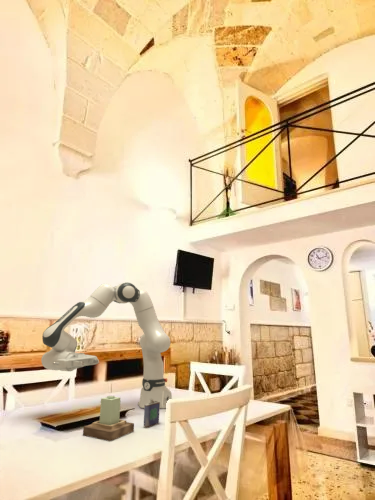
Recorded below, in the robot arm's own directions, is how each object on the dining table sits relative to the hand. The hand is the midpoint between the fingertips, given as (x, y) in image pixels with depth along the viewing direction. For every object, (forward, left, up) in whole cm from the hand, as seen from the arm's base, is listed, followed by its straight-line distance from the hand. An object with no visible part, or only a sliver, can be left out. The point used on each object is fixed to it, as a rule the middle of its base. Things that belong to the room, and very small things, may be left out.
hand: (90, 362), depth 150 cm
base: (+6, +18, -25) cm, 32 cm away
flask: (-12, +26, -26) cm, 39 cm away
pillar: (+5, +18, -22) cm, 29 cm away
